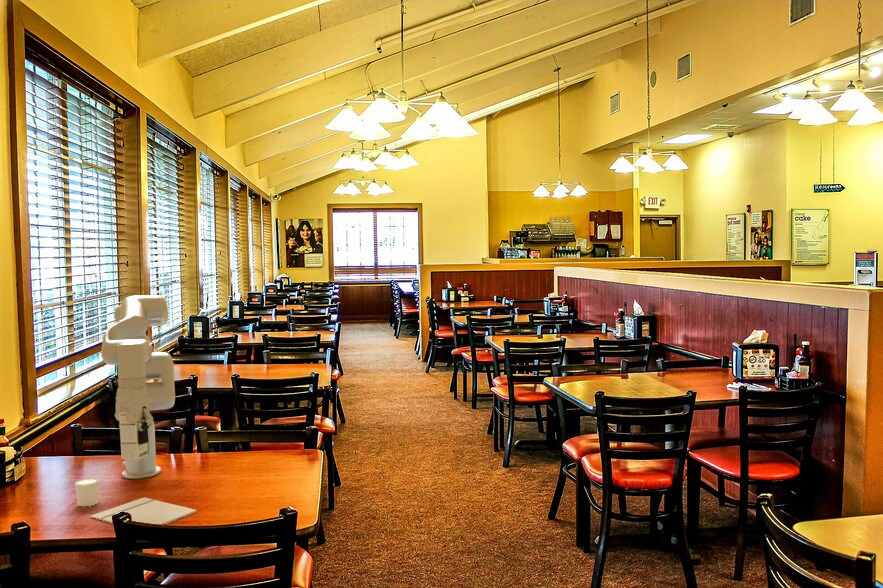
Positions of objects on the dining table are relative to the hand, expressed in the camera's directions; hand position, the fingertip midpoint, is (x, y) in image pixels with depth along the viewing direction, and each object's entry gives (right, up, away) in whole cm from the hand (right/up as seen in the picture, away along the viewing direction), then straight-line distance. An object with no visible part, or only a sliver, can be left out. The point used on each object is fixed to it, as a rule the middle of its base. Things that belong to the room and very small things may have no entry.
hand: (134, 441), depth 215 cm
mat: (+5, -20, -5) cm, 22 cm away
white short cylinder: (-17, -20, +5) cm, 27 cm away
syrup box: (0, -5, 0) cm, 5 cm away
